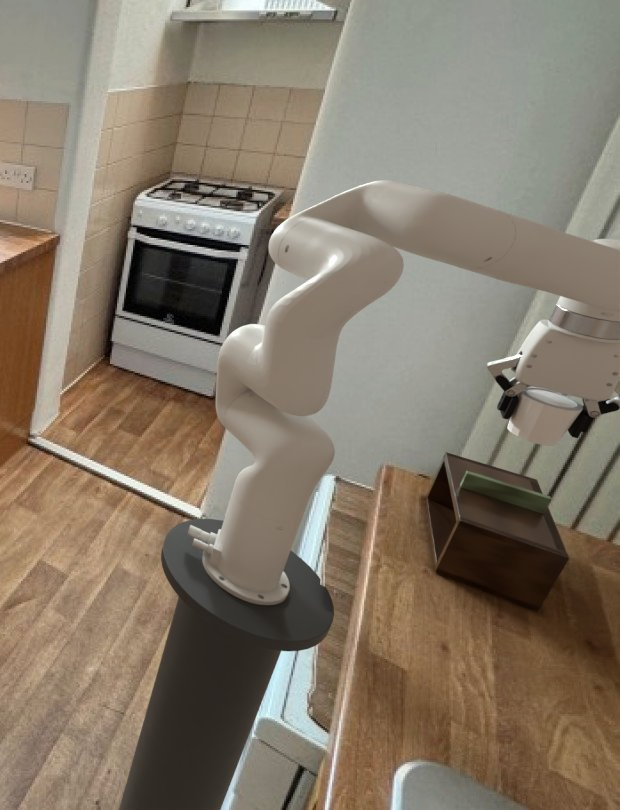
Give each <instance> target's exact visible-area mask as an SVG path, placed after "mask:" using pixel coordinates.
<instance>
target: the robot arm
mask: <svg viewBox="0 0 620 810" xmlns="http://www.w3.org/2000/svg"><path fill="white" fill-rule="evenodd" d="M398 249H399V250H401V251H404V252H407V253H410V254H412V255H416V256H418V257H422V258H425V259H429V260H432V261H436V262H440V263H443V264H447V265H449V266H453V267H456V268H459V269H463V270H465V271H469V272H472V273H475V274H478V275H482V276H486V277H489V278H492V279H495V280H498V281H501V282H505V283H509V284H513V285H517V286H523V287H526V288H530V289H534V290H538V291H541V292H544V293H545V292H546V293H550V294H552V295H556V296H559V298H558V300H557V302H556V304H555V306H554V308H553V310H552V313H551V314H550V317H549V319H540V320H539V321H538V322H537V323H536V325H534V326H533V328H532V329H531V330H530V332H529V333H528V335H527V336H526V338H525V340H524V341H523V342H522V344H521V346H520V347H519V349H518V351H517V352H516V354H515V355H513V356H508V357H505V358H501V359H496V360H492V361H489V362H487V363H486V364H485V366H486V368H487V370H488V372H489V373H490V374H491V376H492V377H493V379H494V380H495V382H496V383H497V385H498V386H499V387H500V388H501V389H502V391H503V393H502V395H501V397H500V398H499V401H498V403H497V405H496V406H497V407H496V409H497V411H499V412H500V415H501V418H502V419H504V420H510V417H511V415H512V413H513V411H514V409H515V407H516V405H517V403H518V401H519V399H518V396H517V395H518V394H519V393H520V392H522V391H524V390H525V389H527V388H529V387H537V388H541V389H545V390H549V391H553V392H557V393H560V394H563V395H565V396H569V397H570V396H571V397H575V398H579V399H581V402H582V406H583V410H582V411H581V412H580V414H579V415H578V416H577V418H576V419H575V421H574V422H573V423H572V425H571V426H570V427H569V429H568V430H567V432H568V434H569V436H571V438H575V439H578V438H579V437H580V436H581V433H585V434H586V433H587V432H588V430H589V428H590V426H591V424H592V423H593V421H594V419H596V418H599V417H601V416H602V415H607V414H610V413H613V412H617V411H619V410H620V239H618V238H617V239H615V238H614V239H613V238H598V239H594V240H593V239H592V240H589V239H586V238H583V237H579V236H576V235H573V234H570V233H567V232H564V231H562V230H559V229H556V228H553V227H551V226H548V225H545V224H543V223H539V222H536V221H534V220H530V219H527V218H525V217H521V216H518V215H515V214H512V213H508V212H505V211H501V210H500V209H495V208H492V207H490V206H486V205H483V204H481V203H477V202H475V201H472V200H468V199H466V198H462V197H459V196H456V195H453V194H450V193H446V192H442V191H438V190H433V189H430V188H429V189H428V188H426V187H420V186H416V185H412V184H407V183H404V182H400V181H397V180H396V181H395V180H390V179H385V180H384V179H383V180H381V179H380V180H375V181H371V182H367V183H364V184H359V185H358V186H355V187H352V188H350V189H348V190H346V191H343V192H341V193H338V194H336V195H334V196H332V197H330V198H328V199H325V200H323V201H321V202H318V203H317V204H314V205H312V206H311V207H308V208H305V209H304V210H302V211H299V212H297V213H296V214H294V215H292V216H290V217H288V218H287V219H285V220H284V221H282V222H281V223H280V225H278V226H277V227H276V228H275V229H274V231H273V233H271V235H270V238H269V241H268V254H269V256H270V258H271V260H272V261H273V263H274V264H276V265H277V267H279V268H280V269H282V270H283V271H286V272H288V273H290V274H293V275H295V276H297V277H298V278H301V279H303V280H305V281H304V282H303V283H302V284H301V285H299V286H298V287H296V288H294V289H293V290H291V291H290V292H288V293H287V294H286V295H285V294H284V296H282V297H281V298H279V299H278V300H277V301H276V302H275V303H274V304H273V305H272V306H271V308H270V309H269V311H268V313H267V315H266V319H265V323H264V324H260V323H249V324H245V325H242V326H239V327H238V328H236V329H234V330H233V331H232V332H231V333H230V334H229V335H227V337H226V339H225V340H224V341H223V343H222V345H221V347H220V349H219V353H218V357H217V368H216V382H215V383H216V384H215V385H216V386H215V413H216V416H217V418H218V420H219V422H220V424H221V425H222V426H223V427H224V428H225V429H226V430H227V431H228V433H230V434H231V435H232V436H233V437H235V438H236V440H238V442H240V443H241V444H242V445H243V446H244V447H245V449H247V450H248V452H250V453H251V454H252V456H253V457H254V463H253V464H251V465H249V466H246V467H244V468H243V469H241V470H240V472H239V473H238V475H237V476H236V478H235V481H234V485H233V488H232V492H231V494H230V498H229V502H228V505H227V508H226V512H225V515H224V518H223V521H224V522H223V525H222V528H221V529H219V530H218V534H215V533H212V532H211V533H210V534H209V533H207V532H205V531H202V530H201V529H199V528H197V527H194V526H192V525H190V527H189V531H188V534H187V535H188V536H190V537H192V538H194V541H193V544H192V546H194V547H196V548H198V549H201V550H204V551H203V555H202V563H203V565H204V568H205V570H206V572H207V573H208V575H209V576H210V577H211V578H212V579H213V580H214V581H215V582H216V583H217V584H218V585H219V586H220V587H221V588H223V589H224V590H225V591H227V592H228V593H230V594H232V595H233V596H235V597H238V598H240V599H242V600H244V601H247V602H250V603H254V604H258V605H276V604H279V603H281V602H283V601H284V600H285V599H286V597H287V596H288V593H289V590H290V584H289V580H288V578H287V576H286V574H285V572H284V571H283V570H284V567H285V564H286V562H287V559H288V556H289V553H290V550H291V551H292V547H293V545H294V542H295V539H296V536H297V534H298V530H299V528H300V525H301V522H302V519H303V517H304V514H305V511H306V509H307V506H308V503H309V502H310V499H311V496H312V494H313V492H314V490H315V488H316V487H317V485H318V484H319V482H320V480H321V479H322V477H323V476H324V475H325V474H326V472H327V471H328V470H329V468H330V467H331V465H332V463H333V461H334V458H335V453H336V452H335V451H336V450H335V445H334V443H333V440H332V439H331V437H330V435H329V434H328V433H327V432H326V431H325V429H324V428H323V427H322V426H321V425H320V424H318V423H317V422H316V421H315V420H313V419H312V418H311V417H310V416H312V415H315V414H317V413H318V412H320V411H321V410H322V409H323V408H324V407H325V406H326V404H327V402H328V399H329V397H330V393H331V388H332V383H333V377H334V371H335V370H334V369H335V362H336V355H337V349H338V343H339V339H340V335H341V333H342V330H343V329H344V327H345V326H346V324H347V323H348V322H349V321H350V320H351V319H352V318H353V317H354V316H356V315H357V314H358V313H360V312H361V311H363V310H364V309H365V308H367V307H368V306H370V305H371V304H372V303H374V302H375V301H377V300H379V299H380V298H382V297H383V296H385V295H386V294H387V293H388V292H390V291H391V290H392V289H394V287H395V286H396V284H397V283H398V281H399V280H400V278H401V277H402V274H403V271H404V265H405V264H404V258H403V256H402V254H401V253H400V252H399V250H398ZM507 369H510V371H512V372H513V373H515V374H514V377H512V378H510V379H508V377H507V376H506V375H505V374H504V372H503V371H504V370H507ZM614 392H615V393H616V394H617V396H615V397H614V398H610V397H612V395H613V393H614ZM202 541H203V542H202ZM204 542H205V543H204ZM206 543H207V544H206Z"/></svg>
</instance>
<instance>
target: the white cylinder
mask: <svg viewBox="0 0 620 810" xmlns="http://www.w3.org/2000/svg"><path fill="white" fill-rule="evenodd" d="M517 396H518V399H519V401H518V403H517V405H516V407H515V409H514V411H513V413H512V415H511V417H510V419H508V423H507V430H508V432H509V433H511V434H513V435H514V436H516V437H518V438H520V439H522V440H524V441H527V442H529V443H533V444H536V445H540V446H546V447H554V446H557V445H558V444H559V442H560V441H561V440H562V439H563V437H564V436H565V434H566V433H567V432H568V429H569V427H570V426H571V425H572V423H573V422H574V421H575V419H576V418H577V416H578V415H579V414H580V412H581V411H582V410H583V404H581V402H579V401H578V400H575V399H574V398H572V397H570V396H569V395H566V394H562V393H558V392H553V391H549V390H545V389H541V388H537V387H533V386H530V387H529V388H527V389H525V390H524V391H522V392H520V393H519V394H518V395H517Z"/></svg>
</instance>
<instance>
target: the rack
mask: <svg viewBox="0 0 620 810" xmlns="http://www.w3.org/2000/svg"><path fill="white" fill-rule="evenodd" d="M551 502H552V497H551V496H550V495H547V494H544V493H543V491H542V489H541V485H540V483H539V481H538V479H536V478H533V477H530V476H527V475H523V474H520V473H517V472H514V471H510V470H507V469H503V468H500V467H497V466H493V465H490V464H487V463H483V462H480V461H478V460H477V461H476V460H474V459H470V458H467V457H463V456H461V455H457V454H453V453H450V452H447V451H445V453H444V455H443V457H442V460H441V461H440V463H439V466H438V468H437V470H436V473H435V475H434V477H433V479H432V481H431V484H430V486H429V488H428V491H427V492H426V495H425V497H424V503H425V510H426V517H427V524H428V525H427V526H428V532H429V536H430V537H429V540H430V546H431V552H432V559H433V567H434V573H436V574H439V575H440V576H444V577H447V578H449V579H452V580H454V581H457V582H460V583H462V584H463V585H467V586H470V587H472V588H474V589H478V590H480V591H482V592H485V593H487V594H489V595H493V596H495V597H498V598H500V599H503V600H505V601H508V602H511V603H512V604H516V605H519V606H521V607H524V608H527V609H528V610H532V611H534V612H537V613H539V611H540V609H541V608H542V606H543V605H544V602H545V601H546V599H547V597H548V596H549V594H550V592H551V591H552V589H553V587H554V586H555V584H556V582H557V581H558V579H559V577H560V576H561V573H562V572H563V571H564V569H565V567H566V565H567V563H568V562H569V560H570V555H569V553H568V552H567V549H566V546H565V544H564V542H563V539H562V536H561V535H560V531H559V530H558V528H557V524H556V522H555V520H554V518H553V515H552V513H551V510H550V508H549V505H550V503H551Z"/></svg>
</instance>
